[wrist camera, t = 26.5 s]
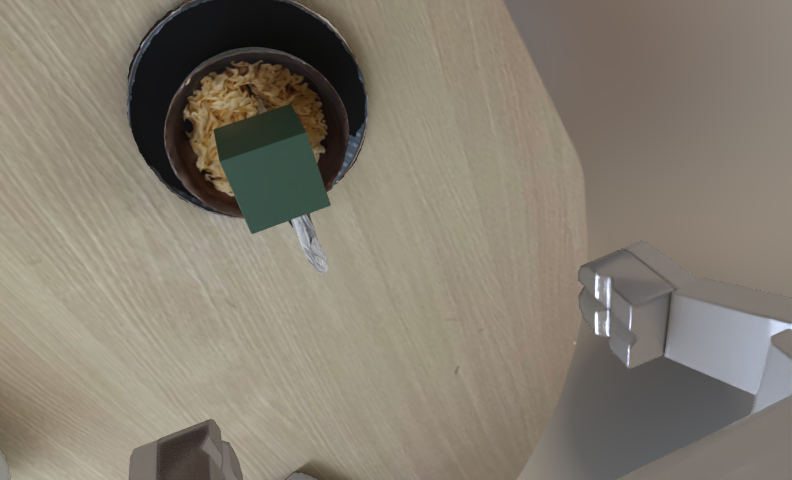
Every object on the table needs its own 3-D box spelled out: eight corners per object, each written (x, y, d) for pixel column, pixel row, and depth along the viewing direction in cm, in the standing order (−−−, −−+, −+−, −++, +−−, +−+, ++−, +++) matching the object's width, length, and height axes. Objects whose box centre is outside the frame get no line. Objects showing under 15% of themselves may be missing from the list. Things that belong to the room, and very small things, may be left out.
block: (290, 103, 32) (306, 131, 28) (313, 171, 34) (331, 205, 31) (212, 128, 31) (219, 161, 28) (242, 196, 34) (251, 234, 30)
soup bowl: (372, -1, 36) (413, 22, 30) (349, 218, 44) (378, 271, 38) (113, -27, 31) (101, -4, 25) (140, 227, 39) (136, 290, 33)
